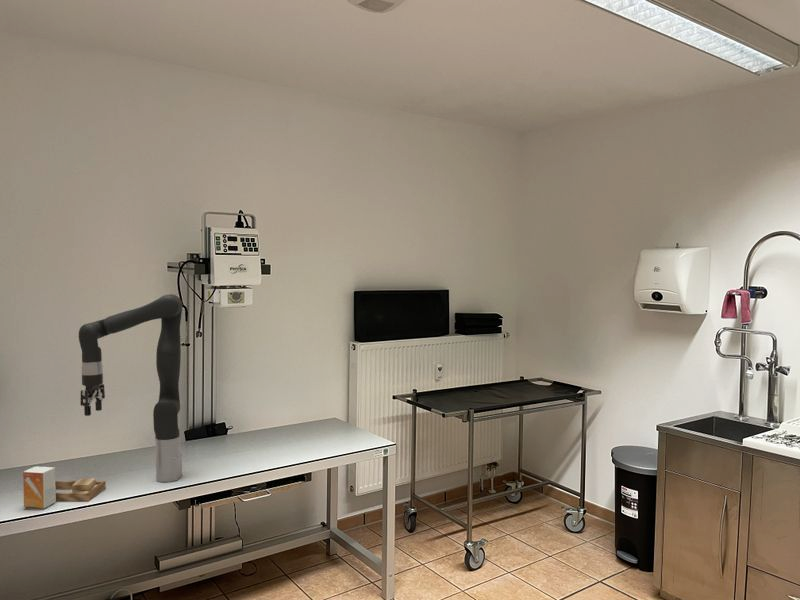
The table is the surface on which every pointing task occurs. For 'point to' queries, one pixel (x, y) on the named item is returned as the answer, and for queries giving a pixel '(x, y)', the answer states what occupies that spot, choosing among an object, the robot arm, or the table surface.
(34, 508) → the mat
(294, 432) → the table surface
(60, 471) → the table surface
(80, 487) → the offcut top
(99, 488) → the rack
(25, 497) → the small box
